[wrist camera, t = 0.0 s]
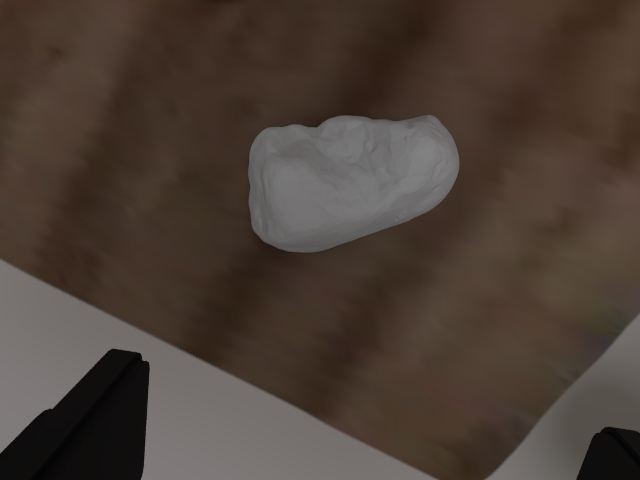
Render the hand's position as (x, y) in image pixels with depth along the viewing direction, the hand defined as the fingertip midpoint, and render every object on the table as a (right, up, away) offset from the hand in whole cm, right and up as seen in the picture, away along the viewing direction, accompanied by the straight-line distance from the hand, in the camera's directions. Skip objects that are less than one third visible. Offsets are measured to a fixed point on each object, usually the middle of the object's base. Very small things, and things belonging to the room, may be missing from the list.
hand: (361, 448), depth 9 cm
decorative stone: (+1, +10, +30) cm, 32 cm away
